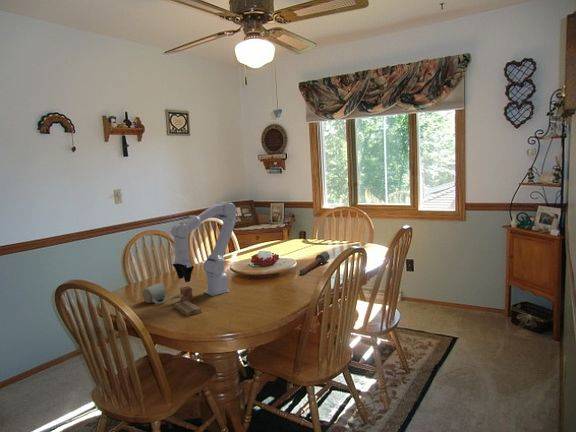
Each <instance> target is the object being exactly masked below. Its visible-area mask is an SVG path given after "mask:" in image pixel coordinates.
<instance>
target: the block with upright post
mask: <svg viewBox="0 0 576 432" xmlns="http://www.w3.org/2000/svg"><path fill="white" fill-rule="evenodd" d="M179 292H180V293H179V294H175V295H172V296H168V300H170V301H173V300H176V299H180V302H183V301H189V302H193V301H194V297H193V288H192V287H191V286H189V285H187V286H183V287H180V288H179Z"/></svg>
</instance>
